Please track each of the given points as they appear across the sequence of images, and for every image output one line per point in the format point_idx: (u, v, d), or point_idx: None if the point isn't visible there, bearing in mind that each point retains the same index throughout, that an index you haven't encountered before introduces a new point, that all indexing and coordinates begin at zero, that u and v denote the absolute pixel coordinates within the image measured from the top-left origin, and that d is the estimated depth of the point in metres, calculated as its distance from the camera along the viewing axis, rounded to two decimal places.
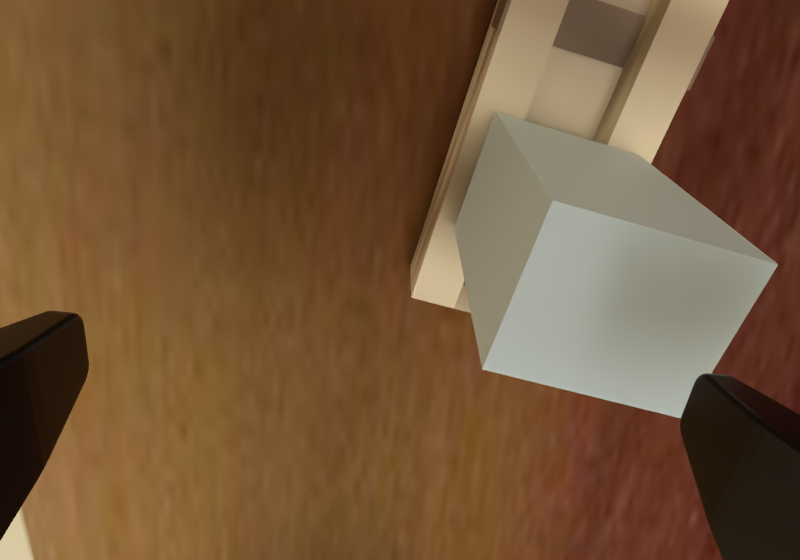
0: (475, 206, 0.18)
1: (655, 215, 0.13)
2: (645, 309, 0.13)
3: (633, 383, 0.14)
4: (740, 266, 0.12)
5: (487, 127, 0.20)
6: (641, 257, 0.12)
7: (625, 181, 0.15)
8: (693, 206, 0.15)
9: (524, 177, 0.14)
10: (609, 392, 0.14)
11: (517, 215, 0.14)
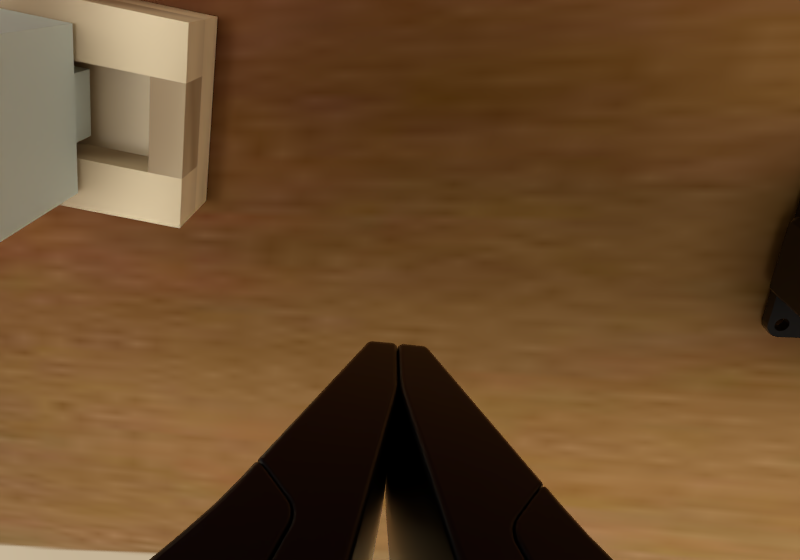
0: None
1: None
2: None
3: None
4: None
5: None
6: None
7: None
8: None
9: None
10: None
11: None
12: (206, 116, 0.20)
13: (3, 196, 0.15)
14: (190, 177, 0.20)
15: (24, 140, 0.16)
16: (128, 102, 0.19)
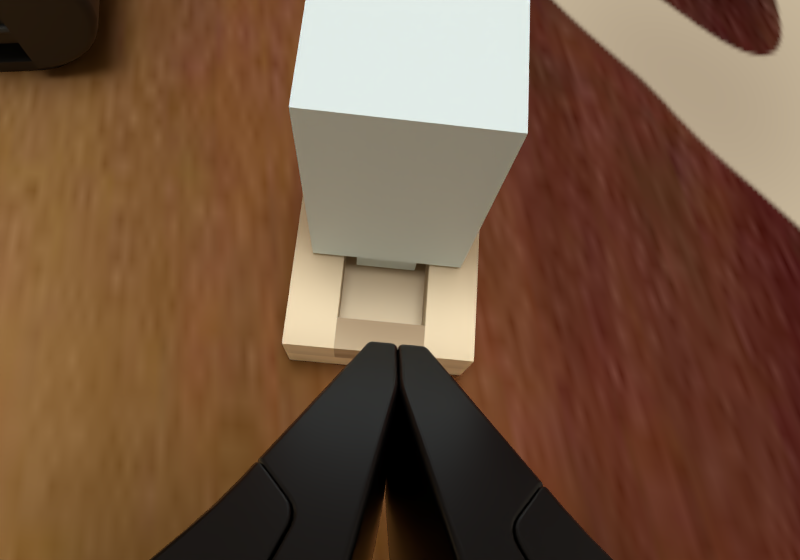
0: None
1: None
2: (432, 26, 0.13)
3: (455, 100, 0.13)
4: None
5: None
6: None
7: None
8: None
9: None
10: (434, 112, 0.13)
11: None
12: None
13: (346, 210, 0.17)
14: (327, 352, 0.20)
15: (385, 229, 0.18)
16: (387, 298, 0.22)
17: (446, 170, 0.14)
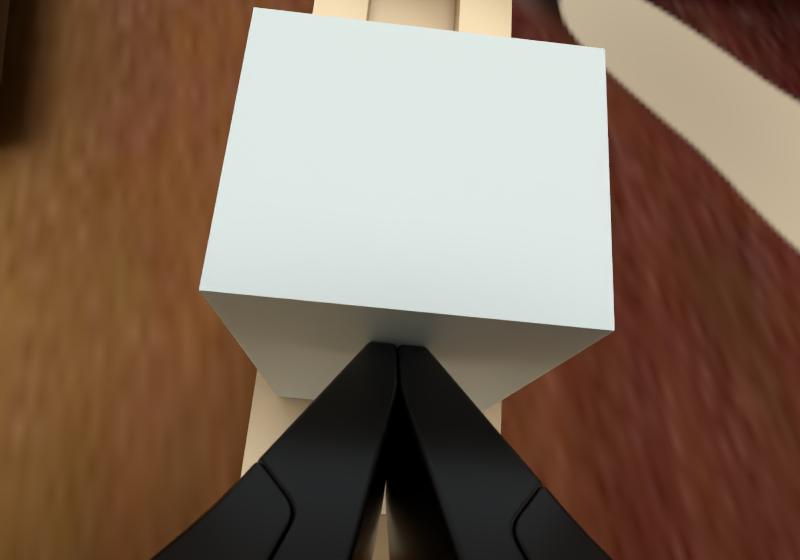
0: None
1: None
2: (448, 136, 0.08)
3: (489, 271, 0.07)
4: (555, 58, 0.09)
5: None
6: (408, 63, 0.08)
7: None
8: None
9: None
10: (453, 295, 0.07)
11: None
12: None
13: (316, 373, 0.12)
14: None
15: None
16: None
17: (468, 353, 0.09)
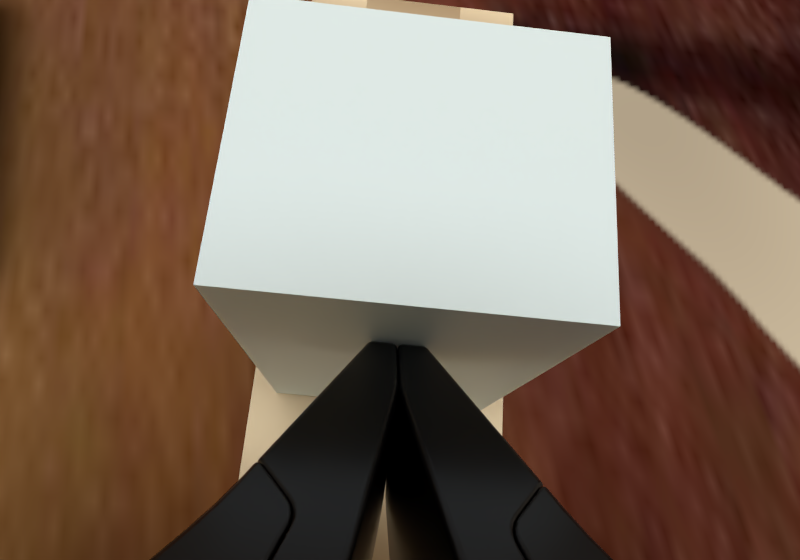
0: None
1: None
2: (450, 127, 0.08)
3: (491, 265, 0.07)
4: (559, 46, 0.08)
5: None
6: (408, 52, 0.08)
7: None
8: None
9: None
10: (454, 290, 0.07)
11: None
12: None
13: (316, 370, 0.11)
14: None
15: None
16: None
17: (470, 349, 0.09)
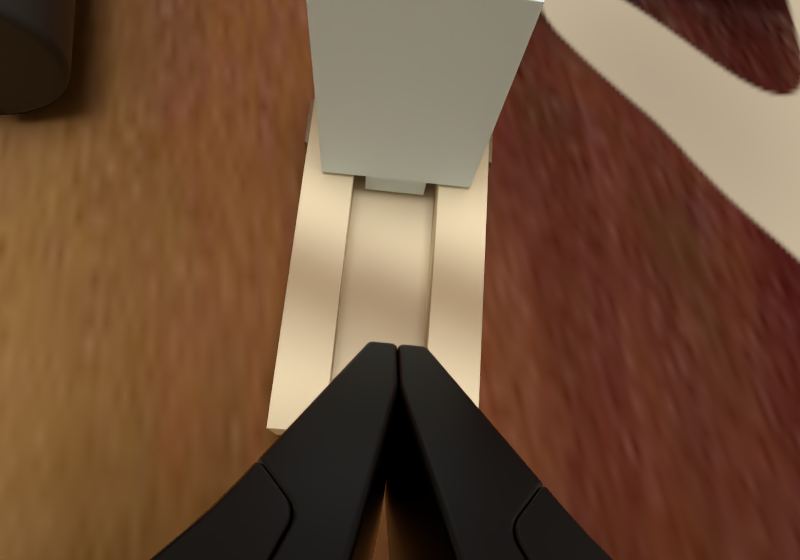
0: None
1: None
2: None
3: None
4: None
5: (315, 220, 0.20)
6: None
7: None
8: None
9: None
10: None
11: None
12: None
13: (357, 112, 0.17)
14: None
15: (396, 137, 0.18)
16: None
17: (460, 55, 0.14)
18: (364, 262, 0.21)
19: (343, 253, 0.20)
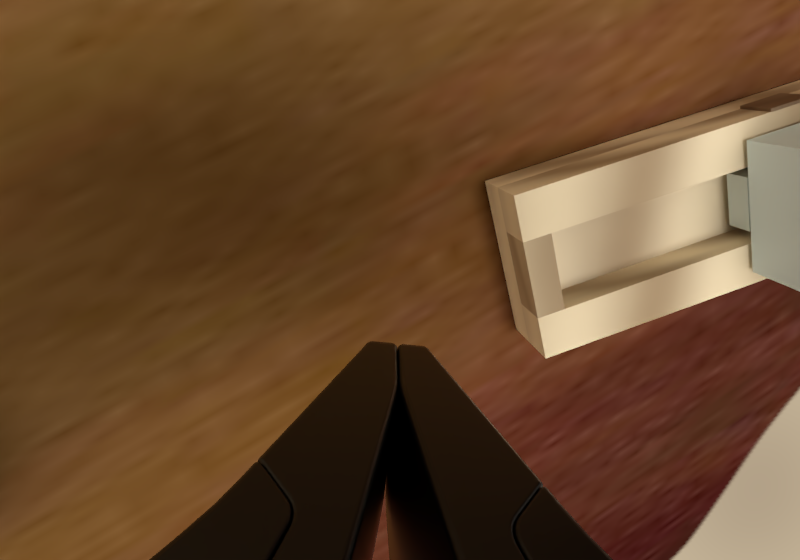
0: None
1: None
2: None
3: None
4: None
5: (698, 153, 0.21)
6: None
7: None
8: None
9: None
10: None
11: None
12: (506, 263, 0.23)
13: None
14: (512, 230, 0.21)
15: None
16: (571, 253, 0.22)
17: None
18: (657, 199, 0.22)
19: (673, 190, 0.21)
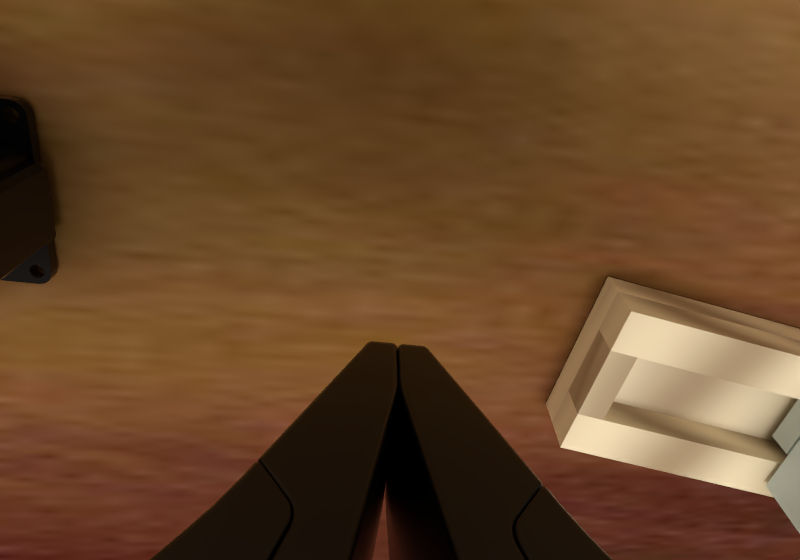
0: None
1: None
2: None
3: None
4: None
5: (795, 371, 0.22)
6: None
7: None
8: None
9: None
10: None
11: None
12: (577, 350, 0.24)
13: None
14: (606, 332, 0.22)
15: None
16: (635, 377, 0.24)
17: None
18: None
19: (753, 385, 0.22)
